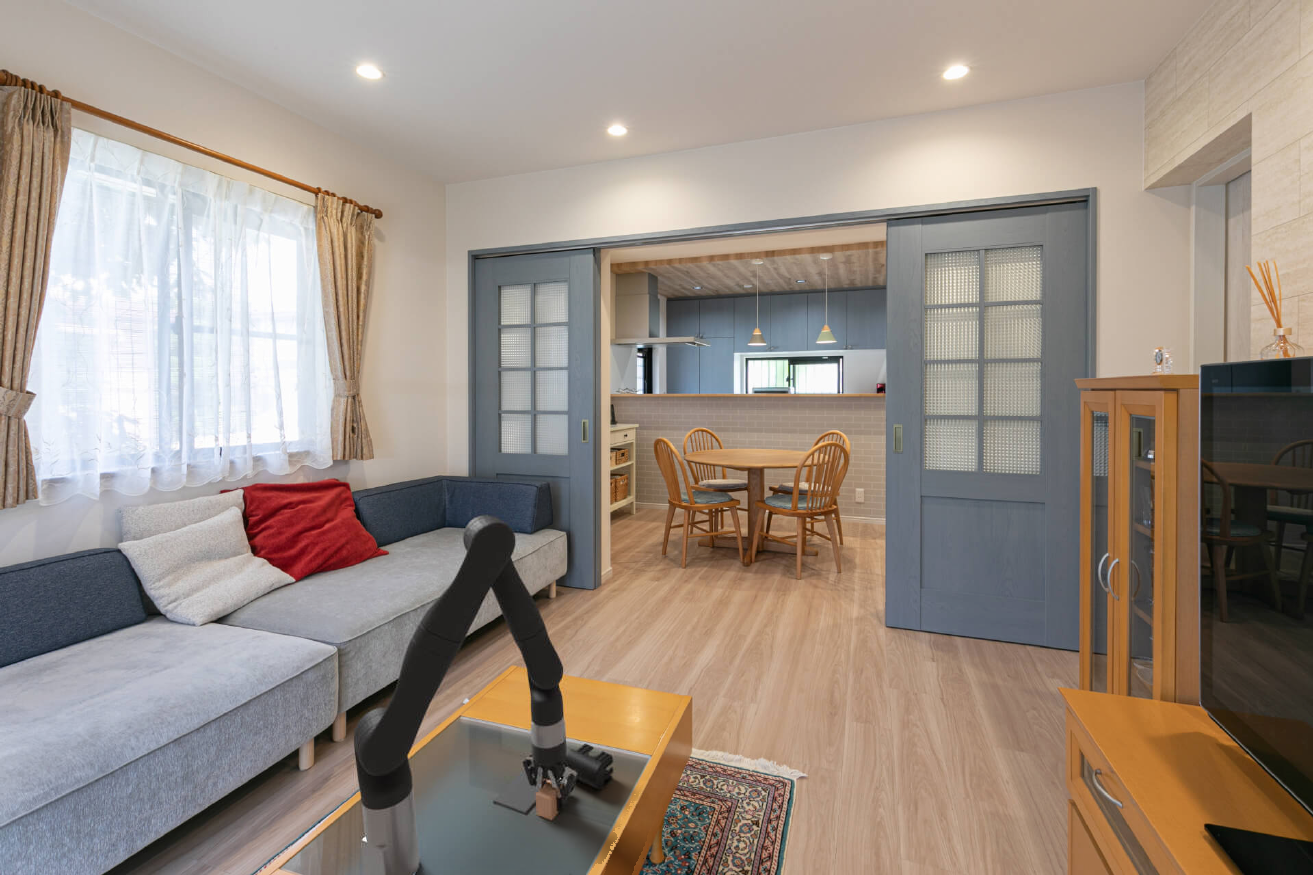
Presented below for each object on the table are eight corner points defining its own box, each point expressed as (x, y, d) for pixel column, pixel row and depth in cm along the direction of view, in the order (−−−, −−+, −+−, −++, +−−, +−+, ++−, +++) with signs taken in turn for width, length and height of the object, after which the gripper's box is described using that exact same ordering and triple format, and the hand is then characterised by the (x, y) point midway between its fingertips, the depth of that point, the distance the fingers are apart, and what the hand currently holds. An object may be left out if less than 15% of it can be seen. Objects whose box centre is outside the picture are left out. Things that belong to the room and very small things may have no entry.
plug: (551, 820, 136) (550, 799, 135) (536, 814, 137) (535, 794, 137) (573, 793, 143) (572, 774, 143) (558, 789, 145) (557, 769, 144)
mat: (525, 813, 138) (525, 811, 138) (493, 802, 141) (493, 800, 141) (556, 779, 148) (555, 777, 148) (525, 769, 152) (525, 767, 152)
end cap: (563, 781, 148) (562, 755, 147) (583, 764, 154) (582, 739, 153) (595, 797, 142) (594, 770, 141) (615, 779, 148) (614, 753, 147)
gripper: (511, 737, 136) (516, 808, 139) (566, 754, 130) (570, 827, 133) (532, 719, 143) (536, 786, 146) (585, 733, 137) (588, 803, 140)
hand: (552, 805), depth 139 cm, fingers closed on plug, 4 cm apart
